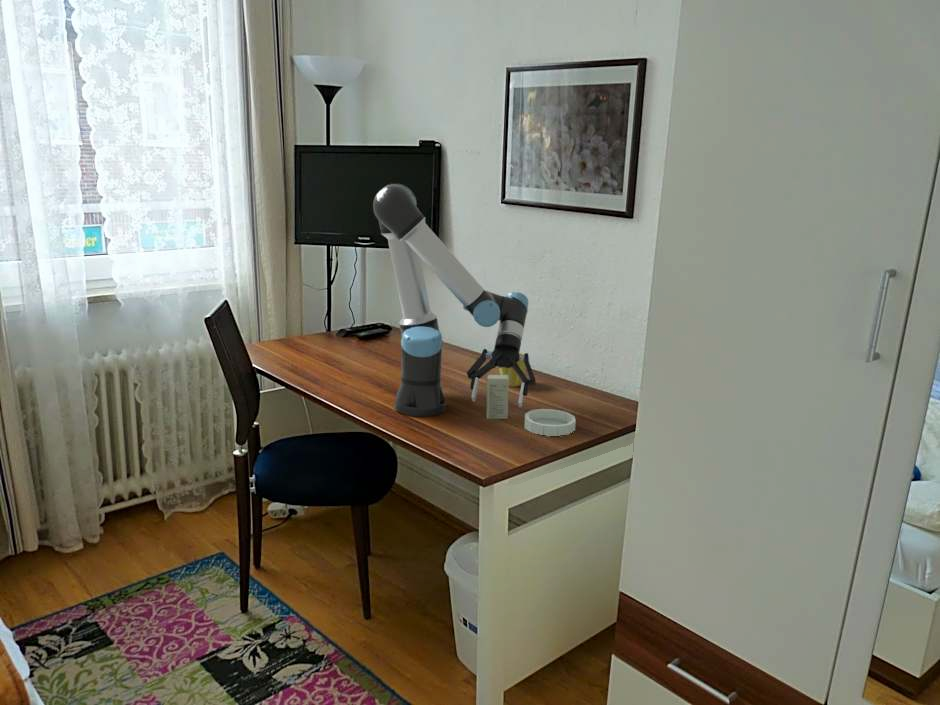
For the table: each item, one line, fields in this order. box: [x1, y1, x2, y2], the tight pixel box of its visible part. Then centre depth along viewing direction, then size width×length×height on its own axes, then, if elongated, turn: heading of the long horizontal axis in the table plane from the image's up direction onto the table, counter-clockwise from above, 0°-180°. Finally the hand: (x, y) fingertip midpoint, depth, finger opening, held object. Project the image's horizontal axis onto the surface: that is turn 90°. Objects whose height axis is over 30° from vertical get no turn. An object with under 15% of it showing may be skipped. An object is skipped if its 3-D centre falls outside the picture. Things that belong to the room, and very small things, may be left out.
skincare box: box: [485, 374, 510, 420], centre depth 212 cm, size 6×4×12 cm
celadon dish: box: [523, 408, 577, 437], centre depth 206 cm, size 14×14×3 cm
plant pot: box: [498, 352, 526, 388], centre depth 244 cm, size 10×10×10 cm
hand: (496, 402), depth 210 cm, fingers open, 13 cm apart
